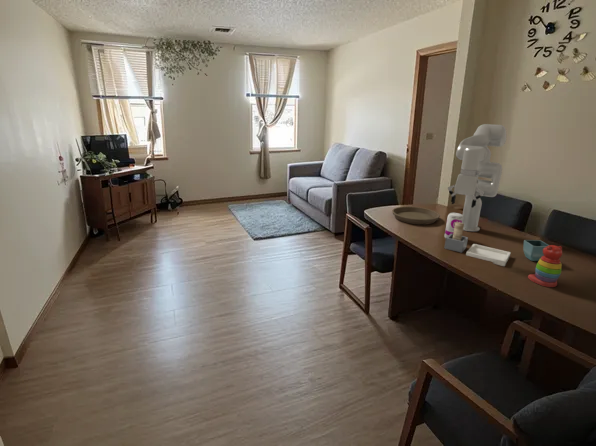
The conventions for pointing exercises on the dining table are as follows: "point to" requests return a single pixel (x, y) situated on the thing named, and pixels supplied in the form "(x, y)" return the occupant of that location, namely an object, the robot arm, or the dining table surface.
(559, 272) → the stacking bear
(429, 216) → the plant saucer
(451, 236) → the grey open box
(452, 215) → the supplement can
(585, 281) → the dining table surface
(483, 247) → the white tray
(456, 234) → the birch peg
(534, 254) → the flower pot
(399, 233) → the dining table surface
